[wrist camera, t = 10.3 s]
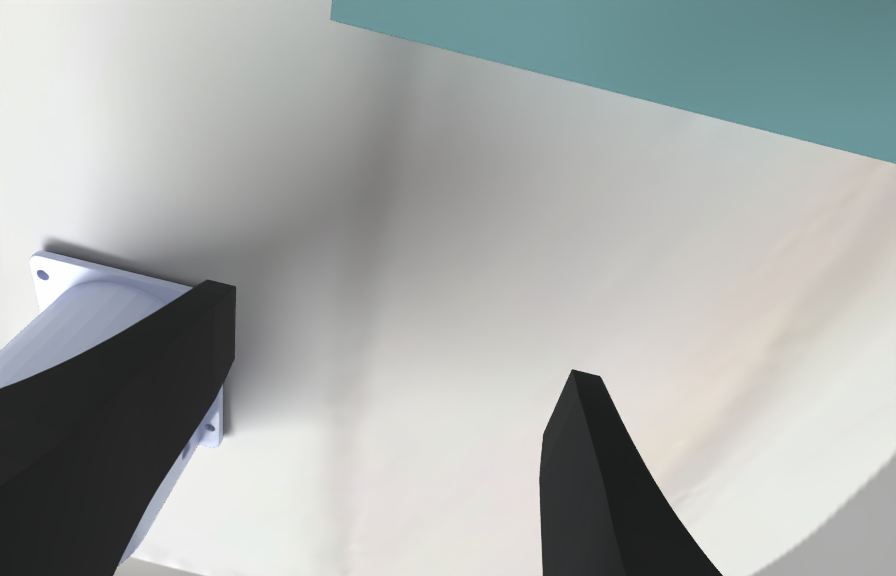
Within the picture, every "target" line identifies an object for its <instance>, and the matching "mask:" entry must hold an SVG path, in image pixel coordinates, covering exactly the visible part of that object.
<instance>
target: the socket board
mask: <svg viewBox="0 0 896 576" xmlns="http://www.w3.org/2000/svg"><path fill="white" fill-rule="evenodd" d="M330 20H333V21H336V22H340V23H344V24H348V25H352V26H356V27H360V28H364V29H368V30H372V31H376V32H380V33H384V34H388V35H392V36H395V37H399V38H403V39H407V40H411V41H415V42H419V43H423V44H427V45H431V46H435V47H439V48H443V49H447V50H451V51H454V52H458V53H462V54H466V55H470V56H474V57H478V58H482V59H486V60H490V61H494V62H498V63H502V64H506V65H509V66H513V67H517V68H521V69H525V70H529V71H533V72H537V73H541V74H545V75H549V76H553V77H557V78H561V79H565V80H568V81H572V82H576V83H580V84H584V85H588V86H592V87H596V88H600V89H604V90H608V91H612V92H616V93H620V94H624V95H627V96H631V97H635V98H639V99H643V100H647V101H651V102H655V103H659V104H663V105H667V106H671V107H675V108H679V109H683V110H686V111H690V112H694V113H698V114H702V115H706V116H710V117H714V118H718V119H722V120H726V121H730V122H734V123H738V124H742V125H745V126H749V127H753V128H757V129H761V130H765V131H769V132H773V133H777V134H781V135H785V136H789V137H793V138H797V139H801V140H804V141H808V142H812V143H816V144H820V145H824V146H828V147H832V148H836V149H840V150H844V151H848V152H852V153H856V154H860V155H863V156H867V157H871V158H875V159H879V160H883V161H887V162H891V163H895V164H896V0H332V9H331V19H330Z"/></svg>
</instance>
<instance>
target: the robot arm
mask: <svg viewBox="0 0 896 576" xmlns="http://www.w3.org/2000/svg"><path fill="white" fill-rule="evenodd" d="M30 265H31V270H32V275H33V280H34V285H35V289H36V294H37V299H38V304H39V308H40V314H39V315H38V316H37V317H36V318H35V319H34V320H33V321H32V322H31V323H30V324H29V325H27V326H26V327H25V328H24V329H23V330H22V331H21V332H20V333H19V334H18V335H17V336H16V337H14V338H13V339H12V340H11V341H10V342H9V343H8V344H7V345H6V346H5V347H4V348H3V349H1V350H0V576H113V575H114V573H115V570H116V568H117V566H119V565H120V564H121V563H123V562H124V561H125V560H126V559H127V558H128V557H129V556H130V555H131V554H132V553H133V552H134V551H135V550H136V549H137V548H138V546H139V545H140V543H141V542H142V540H143V539H144V537H145V536H146V534H147V532H148V530H149V529H150V527H151V525H152V523H153V522H154V520H155V518H156V517H157V515H158V513H159V511H160V510H161V508H162V506H163V505H164V503H165V501H166V499H167V498H168V496H169V494H170V492H171V491H172V489H173V487H174V486H175V484H176V482H177V480H178V479H179V477H180V475H181V474H182V472H183V470H184V468H185V467H186V465H187V463H188V461H189V460H190V458H191V456H192V455H193V453H194V451H195V449H196V448H197V446H198V445H202V446H206V447H211V448H215V447H218V446H219V445H220V444H221V442H222V439H223V383H224V381H225V378H226V376H227V374H228V372H229V370H230V367H231V365H232V363H233V361H234V359H235V307H236V286H232V285H228V284H224V283H219V282H215V281H211V280H206V281H204V282H202V283H201V284H199V285H197V286H196V287H194V288H193V287H189V286H185V285H181V284H177V283H173V282H169V281H165V280H161V279H157V278H153V277H149V276H145V275H140V274H136V273H132V272H128V271H124V270H120V269H116V268H112V267H108V266H104V265H100V264H96V263H92V262H88V261H84V260H79V259H75V258H71V257H67V256H63V255H59V254H55V253H51V252H47V251H37V252H36V253H34V254H33V255H32V256H31V257H30ZM44 271H45V272H46V273H45V272H44ZM539 484H540V515H541V540H542V565H543V576H723V575H722V574H721V573H720V572H719V571H718V569H717V568H716V567H715V566H714V565H713V563H712V562H711V561H710V560H709V559H708V557H707V556H706V555H705V553H704V552H703V551H702V550H701V548H700V547H699V546H698V544H697V543H696V542H695V540H694V539H693V537H692V536H691V535H690V533H689V532H688V531H687V529H686V528H685V526H684V525H683V524H682V522H681V521H680V520H679V518H678V517H677V515H676V514H675V512H674V511H673V509H672V508H671V506H670V505H669V503H668V502H667V500H666V499H665V497H664V495H663V494H662V492H661V490H660V489H659V487H658V486H657V484H656V482H655V481H654V479H653V477H652V476H651V474H650V472H649V470H648V469H647V467H646V465H645V463H644V461H643V460H642V458H641V456H640V454H639V452H638V450H637V449H636V447H635V445H634V443H633V441H632V439H631V437H630V435H629V433H628V432H627V430H626V428H625V426H624V424H623V422H622V420H621V418H620V415H619V413H618V411H617V409H616V407H615V405H614V403H613V401H612V399H611V397H610V395H609V393H608V390H607V388H606V386H605V384H604V382H603V380H602V379H601V377H600V376H597V375H593V374H589V373H585V372H581V371H577V370H573V369H572V370H571V373H570V375H569V377H568V379H567V382H566V384H565V386H564V388H563V391H562V393H561V395H560V397H559V400H558V402H557V404H556V406H555V409H554V411H553V413H552V416H551V418H550V420H549V422H548V425H547V427H546V429H545V431H544V434H543V442H542V452H541V463H540V476H539Z"/></svg>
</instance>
